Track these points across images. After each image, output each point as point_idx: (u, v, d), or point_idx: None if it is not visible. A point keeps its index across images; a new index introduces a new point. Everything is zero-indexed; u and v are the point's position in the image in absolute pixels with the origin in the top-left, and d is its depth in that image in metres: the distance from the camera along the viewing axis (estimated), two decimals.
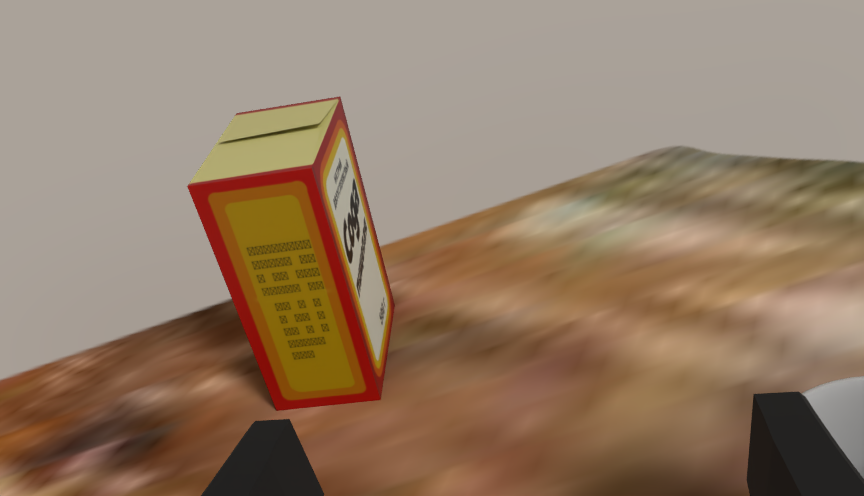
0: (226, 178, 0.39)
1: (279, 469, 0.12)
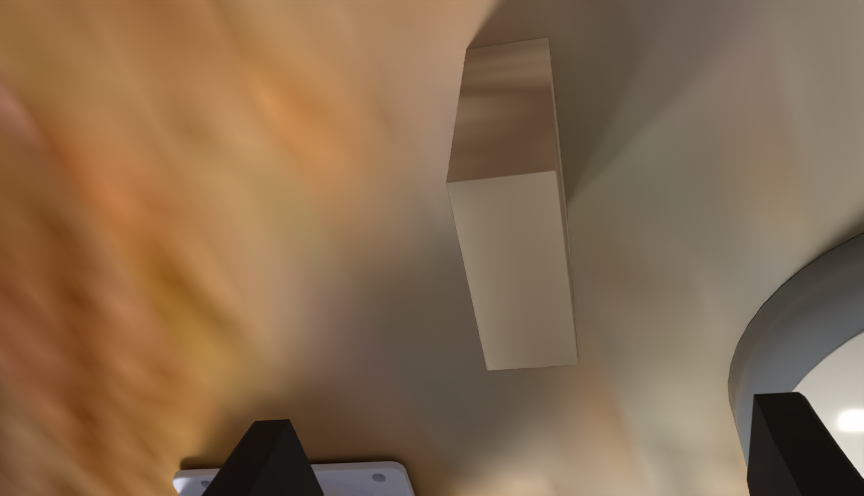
0: None
1: (279, 469, 0.12)
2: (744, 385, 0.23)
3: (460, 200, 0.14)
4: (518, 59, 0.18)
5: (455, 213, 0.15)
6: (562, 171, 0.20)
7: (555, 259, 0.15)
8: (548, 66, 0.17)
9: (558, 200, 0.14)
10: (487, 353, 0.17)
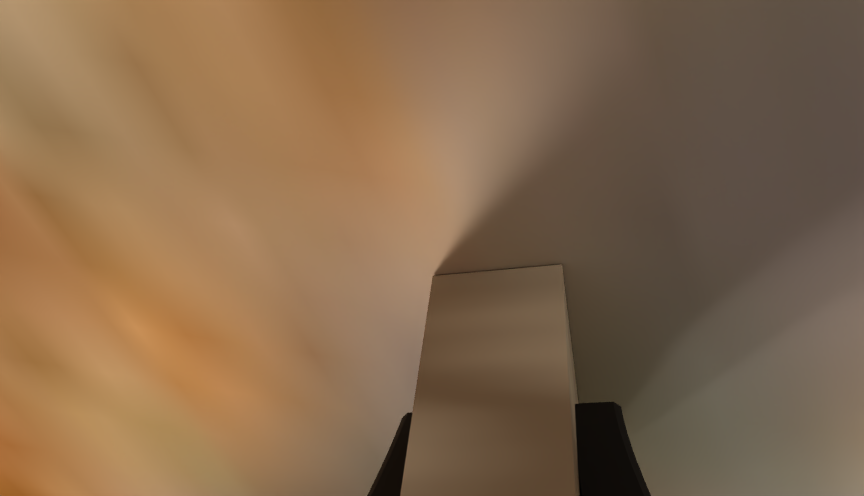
0: None
1: None
2: None
3: None
4: (514, 314, 0.11)
5: None
6: None
7: None
8: (563, 341, 0.10)
9: None
10: None
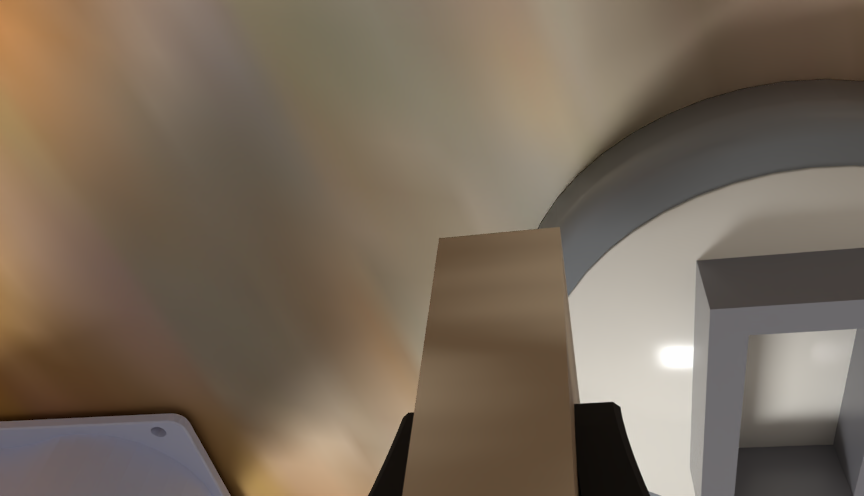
0: None
1: None
2: None
3: None
4: (515, 272, 0.12)
5: None
6: (578, 398, 0.14)
7: None
8: (561, 294, 0.11)
9: None
10: None
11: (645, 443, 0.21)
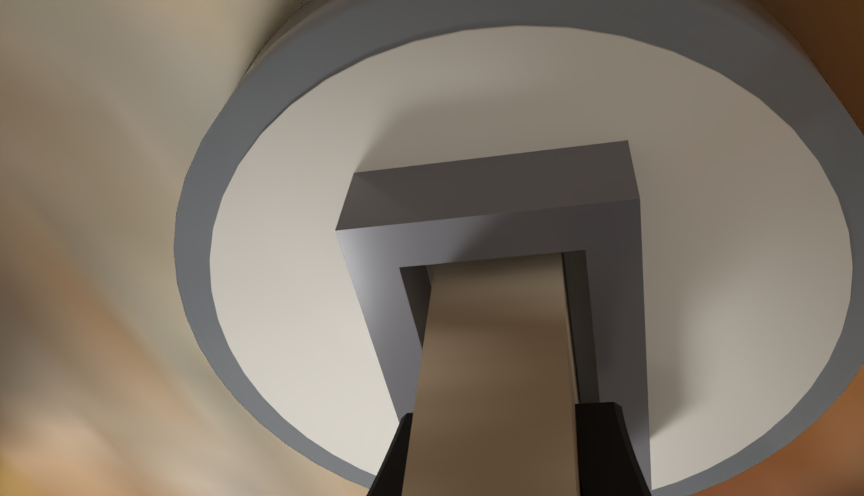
0: None
1: None
2: None
3: None
4: None
5: None
6: (577, 382, 0.14)
7: None
8: (560, 274, 0.12)
9: None
10: None
11: (377, 423, 0.17)
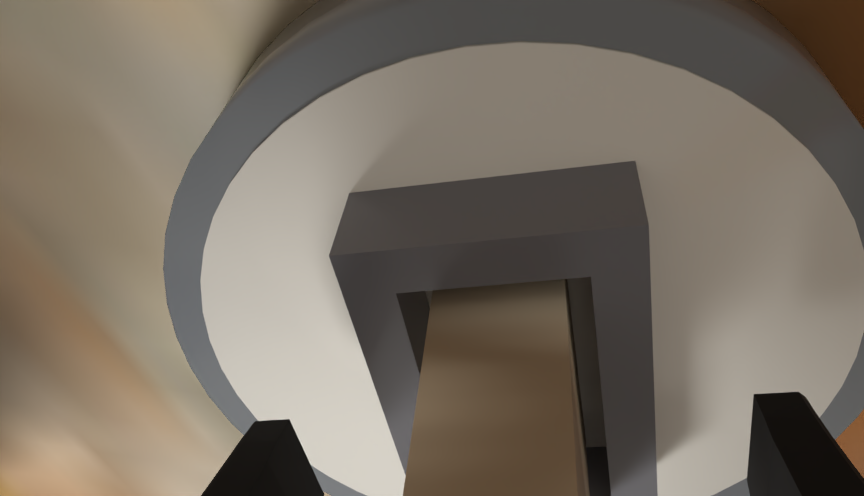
0: None
1: (279, 469, 0.12)
2: None
3: None
4: None
5: None
6: (580, 408, 0.14)
7: None
8: (563, 302, 0.11)
9: None
10: None
11: (375, 446, 0.16)
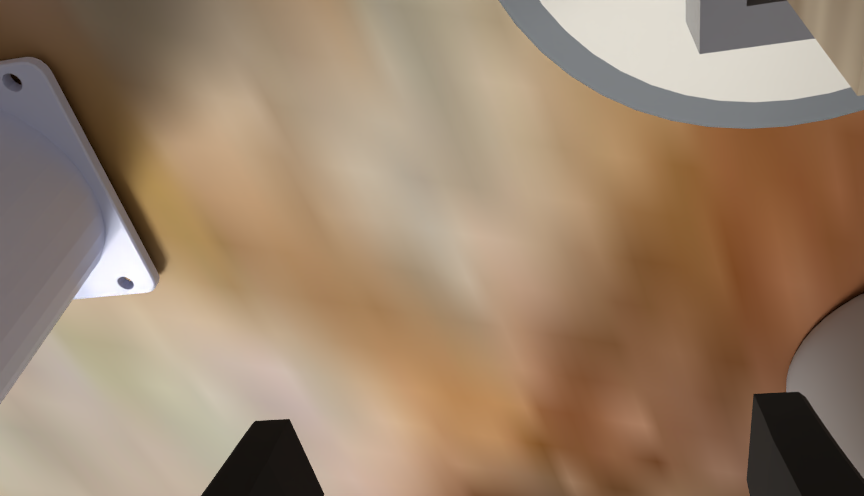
0: None
1: (279, 469, 0.12)
2: None
3: None
4: None
5: None
6: None
7: None
8: None
9: None
10: None
11: None
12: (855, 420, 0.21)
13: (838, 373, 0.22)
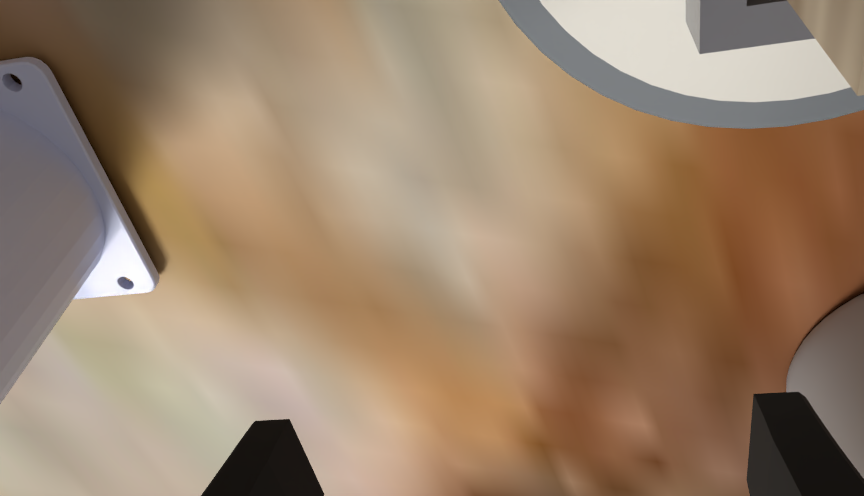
0: None
1: (279, 469, 0.12)
2: None
3: None
4: None
5: None
6: None
7: None
8: None
9: None
10: None
11: None
12: (855, 421, 0.21)
13: (838, 373, 0.22)
